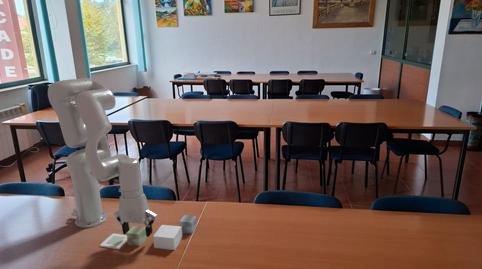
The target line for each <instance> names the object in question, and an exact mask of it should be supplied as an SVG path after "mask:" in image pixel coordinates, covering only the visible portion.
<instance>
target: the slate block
mask: <svg viewBox="0 0 482 269" xmlns="http://www.w3.org/2000/svg"><path fill="white" fill-rule="evenodd" d="M179 226H182V234H188V235H189V234H190V235H191V234H193V233H194V232H195V230H196V229H197V227H198V226H197V216H195V215H189V214H188V215H187V214H185V215H183V216H182V217H181V219H180V220H179Z"/></svg>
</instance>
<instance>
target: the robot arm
mask: <svg viewBox="0 0 482 269" xmlns="http://www.w3.org/2000/svg"><path fill="white" fill-rule="evenodd" d="M47 97H48V98H47V99H48V101H49V104H50V106H52V108H53V111H54V112H55V114H56V116H57V119H58V122H59V126H60V129H61V133H62V136H63V140H64V143H65V144H66V145H67V147H69V148H70V149H73V148H74V149H75V148H80V147H85V148H83V149H80V150H76V151H74V152H72V153H70V154H69V155H67V158H66V160H65V161H66V166H67V169H68V171H69V174H70V178H71V182H72V188H73V192H74V193H73V194H74V197H75V199H74V200H75V204H76V205H75V206H76V208H73V209H72V212H71V216H72V217H76V218H75V220H74V224H75V226H76V227H77V228H81V229H83V228H84V229H88V228H93V227H96V226H99V225H101V224H103V223H104V222H105V221H106V220H107V219H108V215H107V212H104V211H103V206H102V199H101V193H100V192H101V191H100V183H99V182H105V181H108V180H111V179H114V178H116V177H118V179H119V180H118V181H119V186H120V187H119V188H118V192H119V193H121V195H120V196H119V199H118V200H119V201H118V202H119V204H118V208H119V209H118V210H116V211H114V212H113V215H114V216H115V218H116V220H117V221H118V222H119V225H121V230H122V235H127V232H128V231H129V230H130V224H131V223H132V224H141V225H142V224H144V225H145V227H146V228H145V230H146V237H147V238H149V237H150V236H151V235H152V233H153V224H154V223H155V222H156V219H157V218H158V215H157V214H156V213H154V212H153V211H151V210H150V208H149V204H148V203H149V202H148V199H147V196H146V194H145V193H144V189H143V188H144V187H143V182H142V181H143V180H142V171H141V165H140V160H139V159H138V158H135V157H130V156H128V155H127V154H124V153H120V154H115V155H112V153H111V148H110V144H109V140H108V136H107V134H108V133H109V132H111V131H112V128H113V126H112V124H111V121H110V119H109V117H108V114H107V113H106V111H110V110H113V109H114V108H115V106H116V102H117V101H116V98H115V95H114V93H113V92H112V91H111V89H109V88H108V87H107V86H105V85H103V84H102V83H100V82H99V81H97V80H95V79H94V78H90V77H83V78H71V79H63V80H58V81H54V82H53V83H51V84H50V85H49V86H48V88H47ZM129 223H130V224H129Z"/></svg>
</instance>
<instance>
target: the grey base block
mask: <svg viewBox="0 0 482 269" xmlns="http://www.w3.org/2000/svg"><path fill="white" fill-rule="evenodd" d="M152 237H153V238H152V239H153V248H154V249H163V250H170V251H171V250H173V251H176V250H177V247H178V245H179V244H180V242H181V240H182V239H183V233H182V226H180V225H170V224H169V225H167V224H161V225H160V226H159V228H157V230H156V232H155V233H154V235H153V236H152Z"/></svg>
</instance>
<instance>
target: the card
mask: <svg viewBox="0 0 482 269" xmlns="http://www.w3.org/2000/svg"><path fill="white" fill-rule="evenodd" d="M126 243H128V241H127V234H121V233H111V234H110V235H109V236H108V237H106V239H105V240H103V241H102V242H101V243H100V244H99V247H100V248H101V247H102V248H103V247H104V248H108V249H114V250H115V249H116V250H120V249H121V248H122V247H123V246H124V245H125V244H126Z"/></svg>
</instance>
